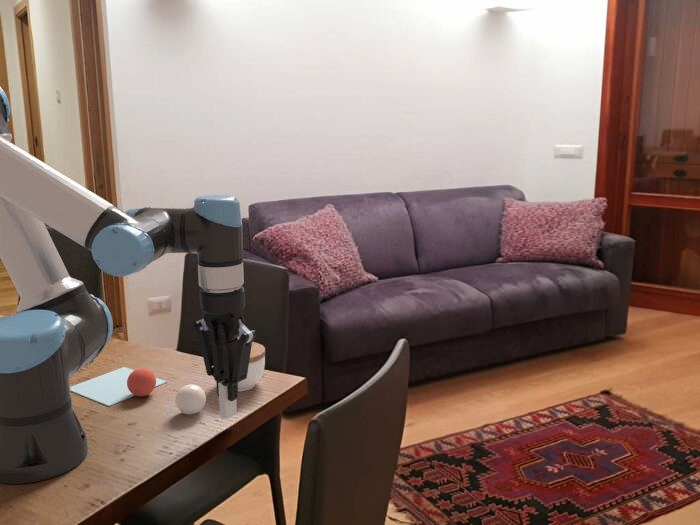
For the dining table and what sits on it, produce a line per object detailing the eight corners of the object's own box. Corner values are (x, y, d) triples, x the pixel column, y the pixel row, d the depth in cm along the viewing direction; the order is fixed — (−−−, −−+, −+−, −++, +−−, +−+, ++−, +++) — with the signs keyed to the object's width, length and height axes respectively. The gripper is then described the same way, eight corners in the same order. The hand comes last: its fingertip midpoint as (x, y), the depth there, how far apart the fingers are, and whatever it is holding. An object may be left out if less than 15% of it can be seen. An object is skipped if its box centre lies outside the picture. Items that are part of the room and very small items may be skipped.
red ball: (143, 403, 128) (141, 376, 127) (121, 398, 130) (119, 371, 129) (162, 392, 133) (161, 366, 132) (141, 387, 135) (139, 362, 134)
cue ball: (194, 422, 120) (192, 393, 119) (170, 416, 123) (168, 388, 121) (212, 409, 125) (211, 382, 124) (188, 404, 127) (187, 377, 126)
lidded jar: (271, 376, 141) (270, 334, 139) (259, 397, 131) (258, 352, 129) (221, 374, 142) (220, 332, 140) (206, 395, 132) (204, 350, 130)
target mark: (167, 382, 138) (167, 381, 138) (109, 406, 127) (108, 405, 127) (124, 367, 146) (124, 366, 146) (66, 389, 134) (65, 388, 134)
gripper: (265, 287, 112) (270, 416, 118) (211, 277, 119) (217, 399, 125) (234, 298, 106) (240, 433, 112) (178, 286, 113) (187, 414, 119)
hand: (228, 415), depth 118 cm, fingers closed
